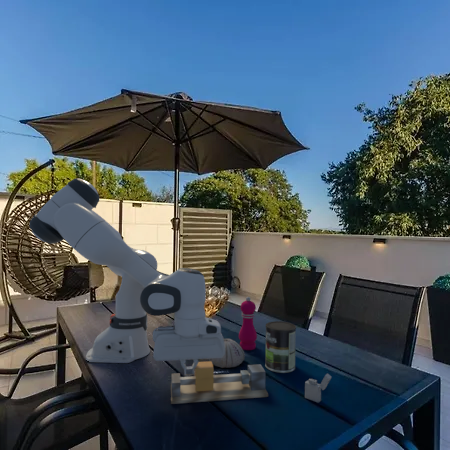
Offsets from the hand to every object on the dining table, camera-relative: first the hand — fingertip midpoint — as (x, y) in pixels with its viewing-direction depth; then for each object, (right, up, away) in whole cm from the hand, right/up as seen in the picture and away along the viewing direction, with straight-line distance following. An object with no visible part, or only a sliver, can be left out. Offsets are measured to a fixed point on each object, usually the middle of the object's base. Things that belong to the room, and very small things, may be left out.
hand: (189, 374), depth 94 cm
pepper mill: (+19, -6, +37) cm, 42 cm away
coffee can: (+29, -6, +19) cm, 35 cm away
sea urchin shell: (+10, -6, +22) cm, 25 cm away
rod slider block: (+8, -6, +2) cm, 10 cm away
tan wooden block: (+4, -4, +1) cm, 6 cm away
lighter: (+36, -6, -3) cm, 36 cm away
